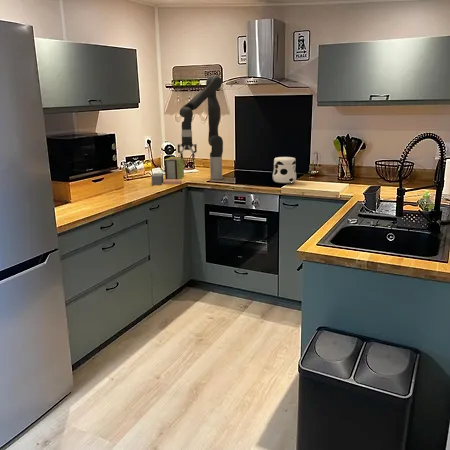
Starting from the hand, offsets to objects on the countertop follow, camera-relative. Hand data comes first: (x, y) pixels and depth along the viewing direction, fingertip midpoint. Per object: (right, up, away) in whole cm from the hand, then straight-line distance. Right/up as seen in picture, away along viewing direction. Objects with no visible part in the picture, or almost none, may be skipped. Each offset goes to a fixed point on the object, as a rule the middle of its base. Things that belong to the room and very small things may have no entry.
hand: (187, 158), depth 332 cm
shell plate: (-12, -18, +5) cm, 22 cm away
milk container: (+71, -18, -1) cm, 73 cm away
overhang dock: (-23, -18, +5) cm, 29 cm away
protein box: (-12, -12, +24) cm, 30 cm away
